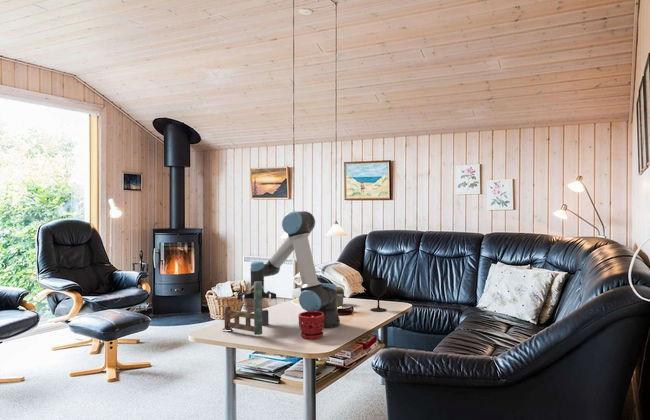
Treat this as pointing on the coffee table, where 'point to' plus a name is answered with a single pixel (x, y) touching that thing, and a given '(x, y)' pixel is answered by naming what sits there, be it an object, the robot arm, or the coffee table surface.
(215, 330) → the coffee table surface
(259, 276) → the robot arm
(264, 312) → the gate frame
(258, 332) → the gate
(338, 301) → the digital clock
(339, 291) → the shell
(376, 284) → the wine glass
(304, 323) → the plant pot
